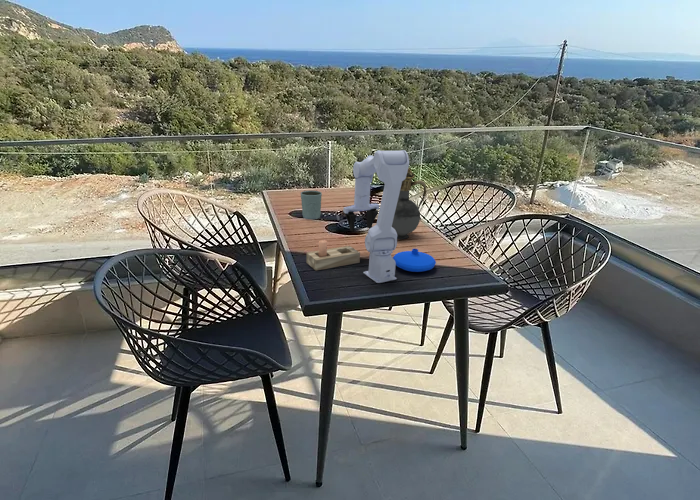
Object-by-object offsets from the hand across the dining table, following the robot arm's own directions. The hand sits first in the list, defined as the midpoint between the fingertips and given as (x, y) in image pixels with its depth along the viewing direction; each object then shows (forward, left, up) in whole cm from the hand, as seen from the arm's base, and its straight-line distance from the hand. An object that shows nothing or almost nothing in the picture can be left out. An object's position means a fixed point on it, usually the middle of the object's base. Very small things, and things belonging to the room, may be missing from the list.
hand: (360, 229), depth 172 cm
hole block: (-3, +13, -10) cm, 17 cm away
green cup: (+53, -4, -11) cm, 54 cm away
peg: (-3, +18, -10) cm, 21 cm away
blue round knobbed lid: (-19, -12, -11) cm, 25 cm away
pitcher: (+11, -29, -11) cm, 33 cm away
